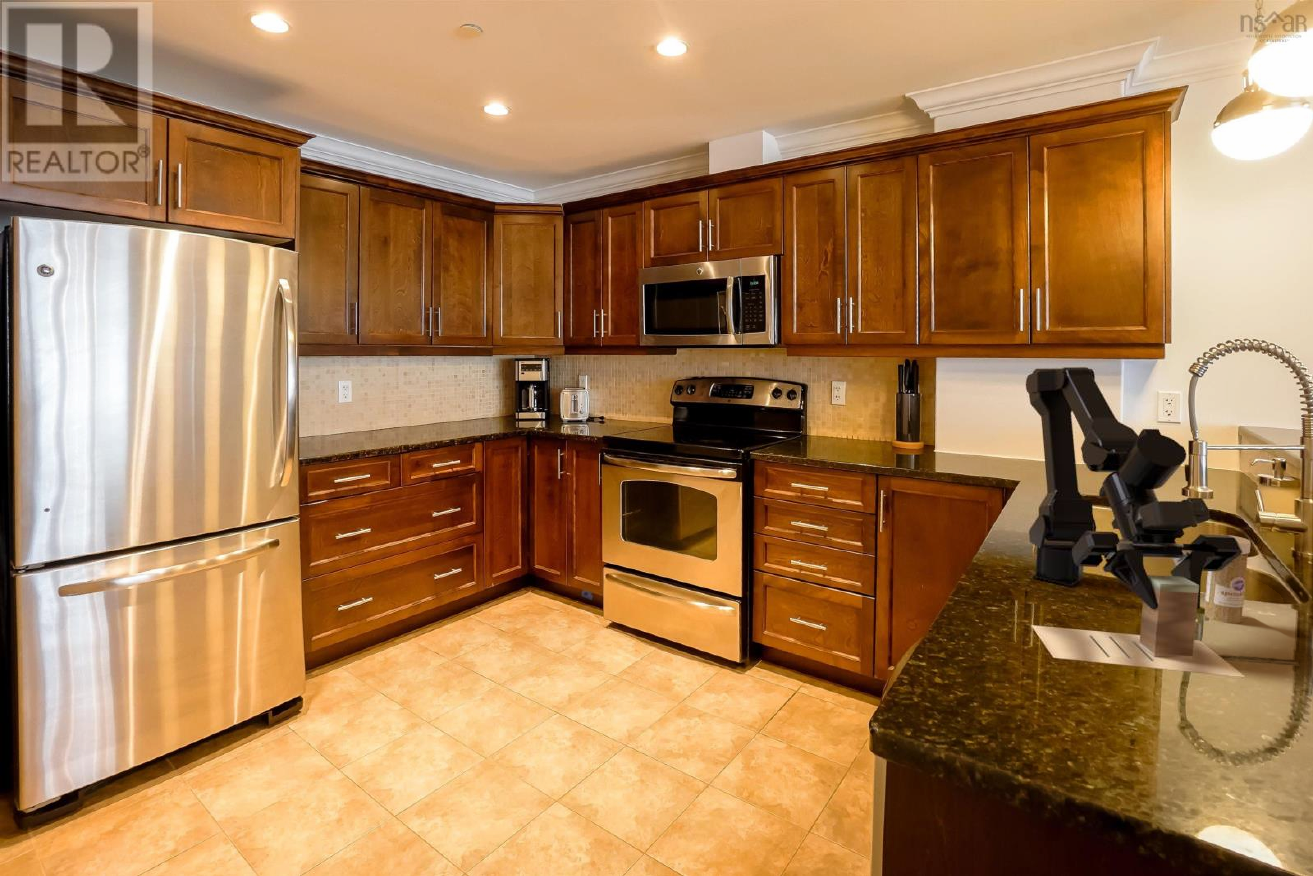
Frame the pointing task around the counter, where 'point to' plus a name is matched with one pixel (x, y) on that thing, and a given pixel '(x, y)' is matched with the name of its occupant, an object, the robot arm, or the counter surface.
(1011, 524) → the counter surface
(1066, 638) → the birch board
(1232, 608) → the sprinkles bottle
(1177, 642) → the block
